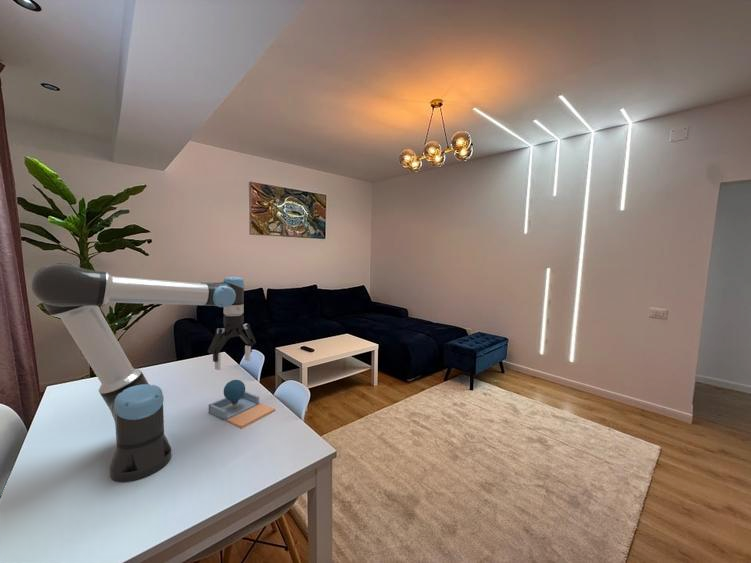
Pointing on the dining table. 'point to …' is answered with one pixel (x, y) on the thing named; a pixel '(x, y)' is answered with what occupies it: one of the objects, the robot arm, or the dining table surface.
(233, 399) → the light bulb
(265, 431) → the dining table surface
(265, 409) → the panel
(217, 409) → the blue-grey shallow rectangular box
